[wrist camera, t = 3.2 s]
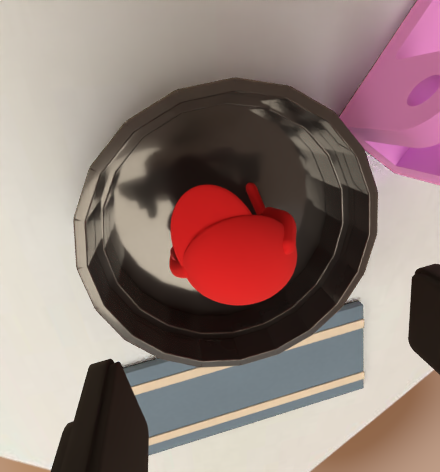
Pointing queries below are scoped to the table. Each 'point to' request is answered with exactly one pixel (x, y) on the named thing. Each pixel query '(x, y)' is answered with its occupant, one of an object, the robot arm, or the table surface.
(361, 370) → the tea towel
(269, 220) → the red rounded lobed piece
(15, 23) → the table surface
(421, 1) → the bracket
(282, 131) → the bowl
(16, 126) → the table surface
